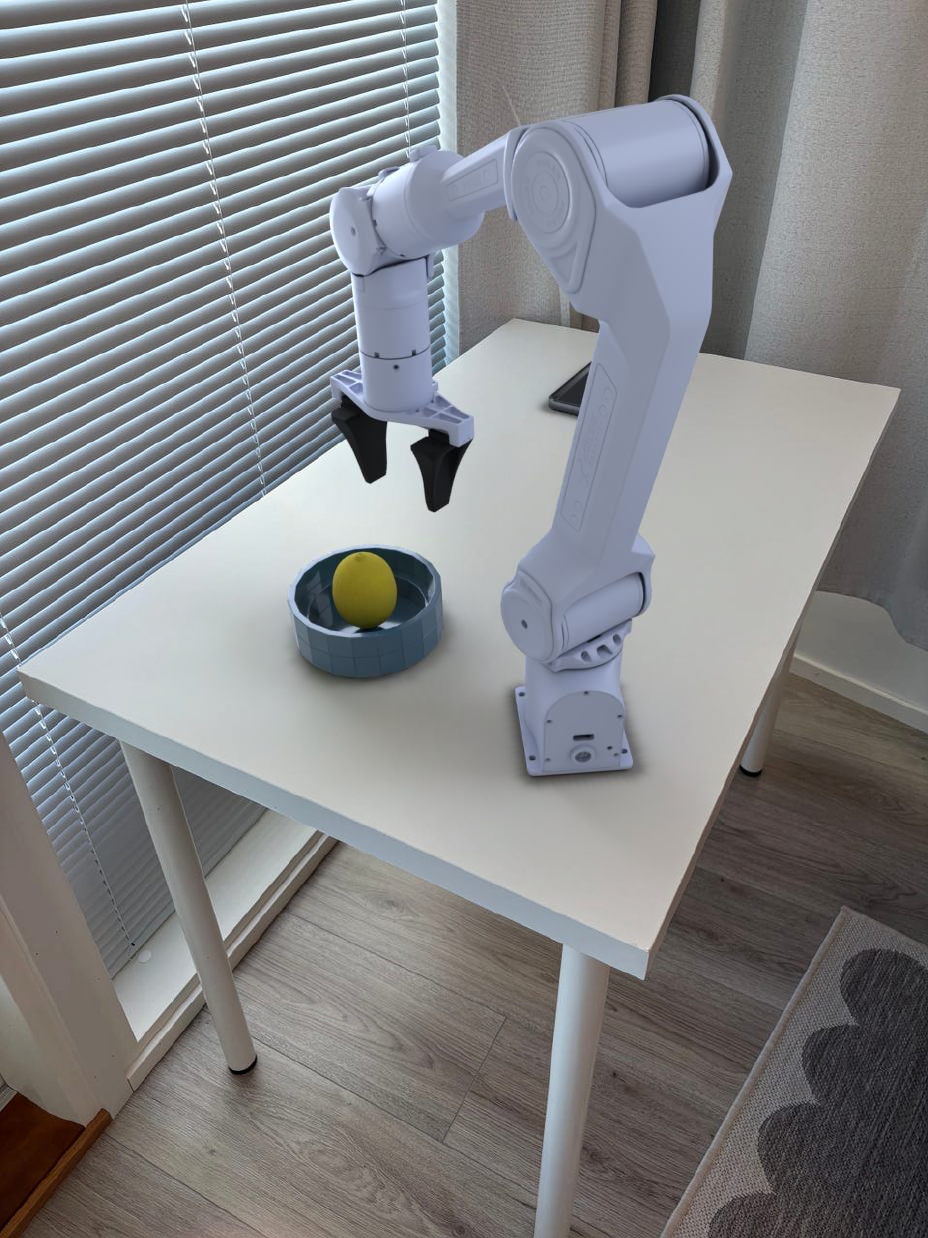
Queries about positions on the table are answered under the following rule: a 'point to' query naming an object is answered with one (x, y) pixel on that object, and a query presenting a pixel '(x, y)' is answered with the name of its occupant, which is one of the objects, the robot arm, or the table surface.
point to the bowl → (372, 648)
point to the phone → (570, 393)
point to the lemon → (364, 590)
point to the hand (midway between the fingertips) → (406, 492)
